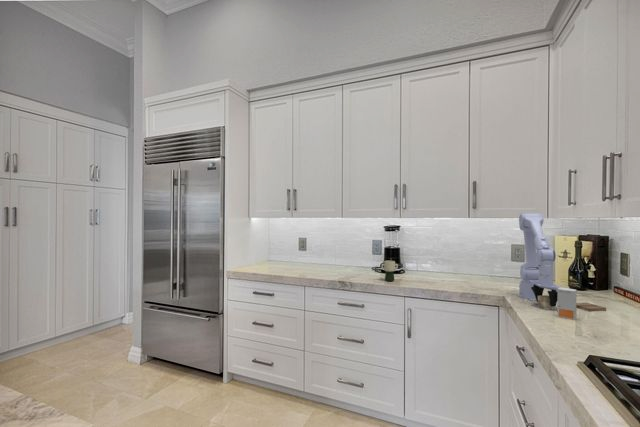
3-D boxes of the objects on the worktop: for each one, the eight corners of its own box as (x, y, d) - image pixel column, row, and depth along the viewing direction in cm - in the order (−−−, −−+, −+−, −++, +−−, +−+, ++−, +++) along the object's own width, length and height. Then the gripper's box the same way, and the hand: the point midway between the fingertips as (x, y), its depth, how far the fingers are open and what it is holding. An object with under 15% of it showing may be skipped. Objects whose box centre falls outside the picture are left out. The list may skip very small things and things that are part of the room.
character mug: (396, 279, 225) (396, 260, 225) (399, 281, 218) (399, 261, 218) (380, 279, 224) (380, 260, 225) (382, 282, 217) (382, 261, 218)
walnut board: (570, 306, 157) (570, 303, 157) (586, 305, 159) (586, 302, 159) (589, 311, 148) (589, 308, 148) (606, 310, 150) (606, 307, 150)
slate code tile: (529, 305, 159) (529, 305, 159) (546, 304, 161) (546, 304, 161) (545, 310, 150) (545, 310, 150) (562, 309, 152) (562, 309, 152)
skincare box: (557, 317, 141) (556, 288, 141) (559, 315, 144) (559, 287, 144) (575, 320, 136) (574, 291, 136) (576, 318, 139) (576, 289, 139)
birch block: (537, 306, 157) (537, 295, 157) (547, 305, 158) (546, 295, 158) (545, 308, 153) (544, 297, 153) (554, 308, 154) (554, 297, 154)
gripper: (526, 272, 162) (526, 300, 162) (551, 277, 148) (552, 308, 148) (538, 272, 163) (538, 300, 163) (565, 277, 149) (565, 308, 149)
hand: (546, 304), depth 155 cm, fingers open, 7 cm apart
